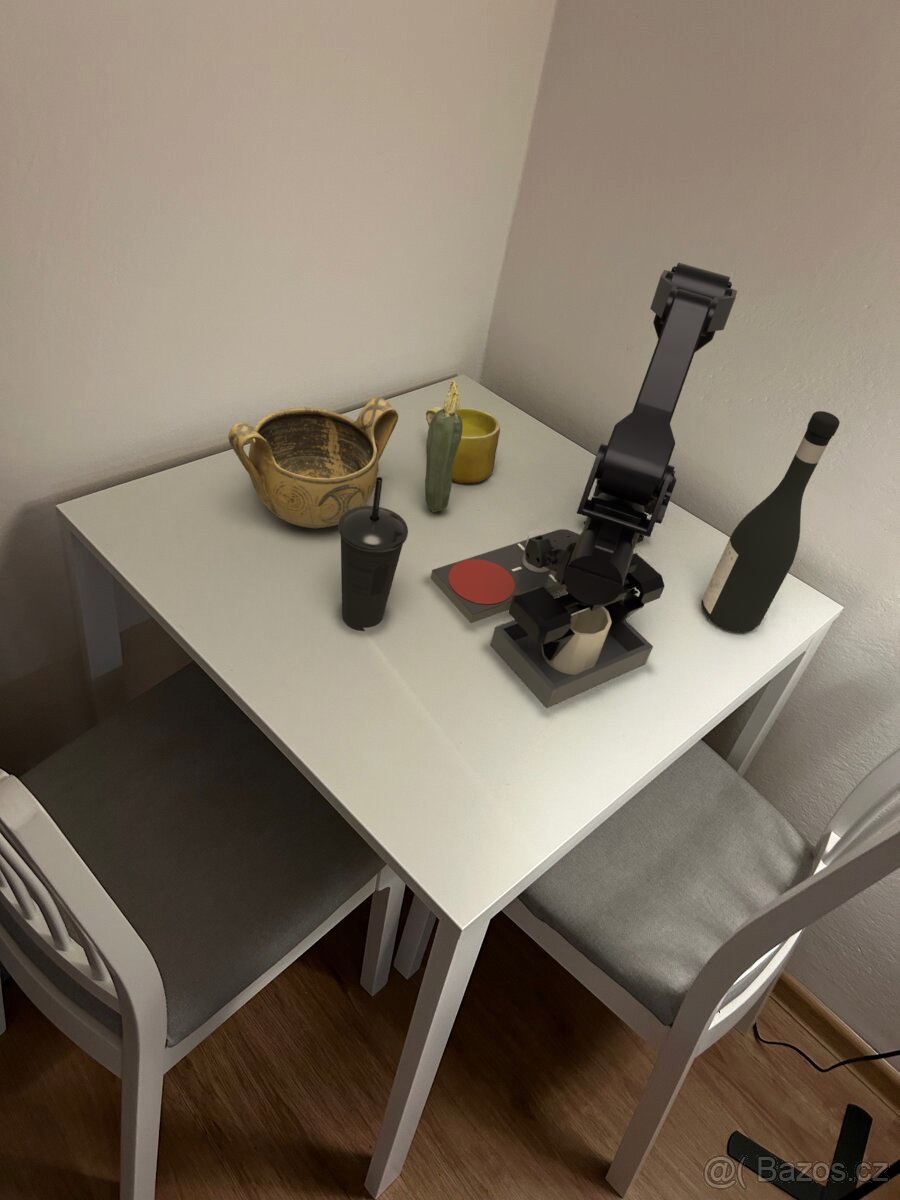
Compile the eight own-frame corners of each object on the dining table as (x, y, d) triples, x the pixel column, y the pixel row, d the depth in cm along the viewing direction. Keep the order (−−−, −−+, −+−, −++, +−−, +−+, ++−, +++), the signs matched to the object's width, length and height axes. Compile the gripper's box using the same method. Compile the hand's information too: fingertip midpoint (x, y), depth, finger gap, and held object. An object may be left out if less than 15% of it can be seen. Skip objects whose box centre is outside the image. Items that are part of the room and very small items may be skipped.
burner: (488, 553, 117) (489, 552, 116) (527, 593, 112) (527, 592, 112) (435, 570, 112) (435, 569, 112) (473, 612, 108) (473, 611, 108)
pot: (572, 628, 110) (585, 589, 106) (607, 664, 107) (622, 625, 102) (529, 644, 107) (541, 605, 103) (564, 682, 103) (578, 642, 99)
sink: (586, 610, 114) (594, 589, 112) (644, 667, 108) (653, 646, 106) (489, 648, 106) (494, 626, 104) (545, 711, 100) (552, 690, 98)
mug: (520, 469, 132) (508, 411, 126) (464, 503, 129) (449, 445, 123) (473, 440, 141) (460, 385, 134) (420, 471, 138) (403, 416, 131)
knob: (515, 557, 117) (522, 531, 114) (539, 549, 119) (546, 524, 116) (534, 576, 114) (542, 550, 112) (558, 567, 116) (566, 542, 114)
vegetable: (442, 526, 123) (466, 397, 109) (412, 518, 123) (432, 388, 110) (449, 508, 126) (473, 380, 113) (419, 500, 126) (440, 372, 113)
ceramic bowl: (262, 569, 110) (264, 468, 100) (206, 494, 120) (202, 394, 110) (413, 525, 122) (428, 430, 112) (351, 459, 131) (359, 366, 121)
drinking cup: (403, 608, 109) (426, 472, 96) (379, 647, 104) (399, 509, 90) (346, 587, 110) (360, 450, 97) (319, 625, 105) (330, 485, 92)
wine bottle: (689, 615, 117) (781, 414, 97) (711, 586, 122) (803, 390, 102) (746, 645, 114) (853, 445, 94) (767, 614, 119) (872, 419, 99)
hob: (536, 546, 122) (540, 534, 121) (578, 586, 117) (582, 574, 116) (429, 581, 114) (432, 568, 112) (469, 626, 109) (472, 613, 107)
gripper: (619, 486, 105) (586, 585, 115) (492, 524, 96) (468, 628, 106) (686, 541, 99) (644, 641, 109) (557, 588, 89) (525, 692, 100)
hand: (570, 648), depth 106 cm, fingers closed on pot, 7 cm apart
